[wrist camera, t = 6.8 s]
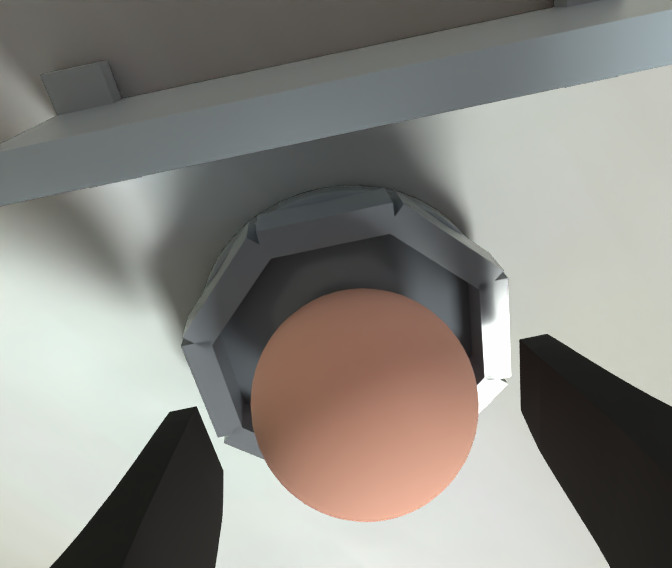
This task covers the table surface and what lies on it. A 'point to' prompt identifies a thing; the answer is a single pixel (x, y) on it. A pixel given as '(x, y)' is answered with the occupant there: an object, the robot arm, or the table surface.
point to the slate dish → (339, 288)
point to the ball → (364, 405)
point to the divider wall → (323, 94)
